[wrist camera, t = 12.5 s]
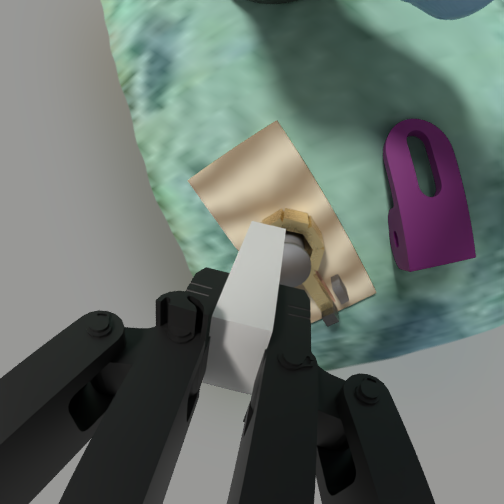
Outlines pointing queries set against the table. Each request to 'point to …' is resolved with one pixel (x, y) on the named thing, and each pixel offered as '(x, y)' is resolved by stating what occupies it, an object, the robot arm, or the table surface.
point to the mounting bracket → (426, 201)
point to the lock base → (280, 197)
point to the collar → (313, 235)
